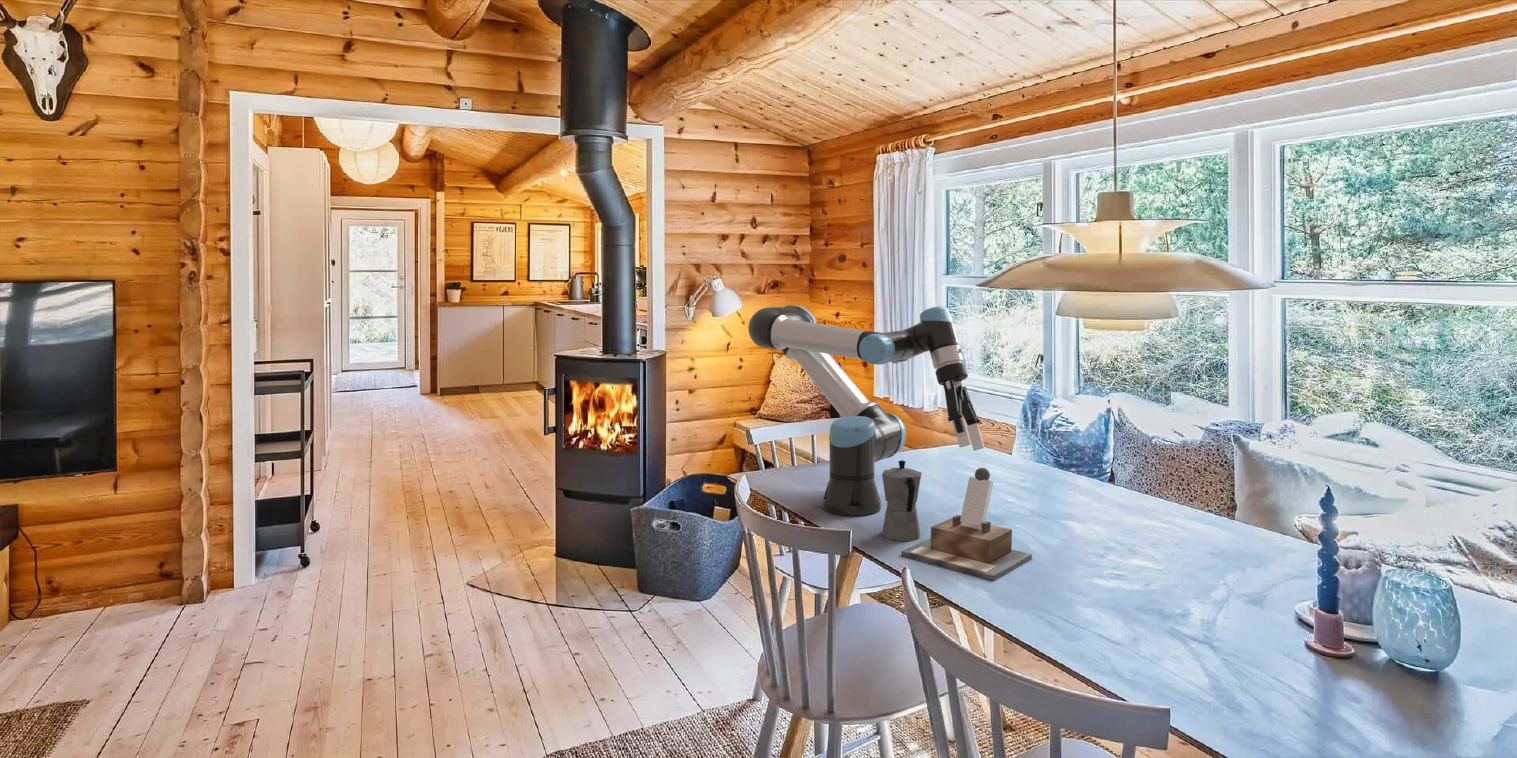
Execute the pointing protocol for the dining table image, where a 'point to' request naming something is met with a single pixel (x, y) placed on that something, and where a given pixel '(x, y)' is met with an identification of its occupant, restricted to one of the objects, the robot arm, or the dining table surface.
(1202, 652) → the dining table surface
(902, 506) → the coffeepot
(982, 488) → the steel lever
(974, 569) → the switch unit
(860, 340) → the robot arm
